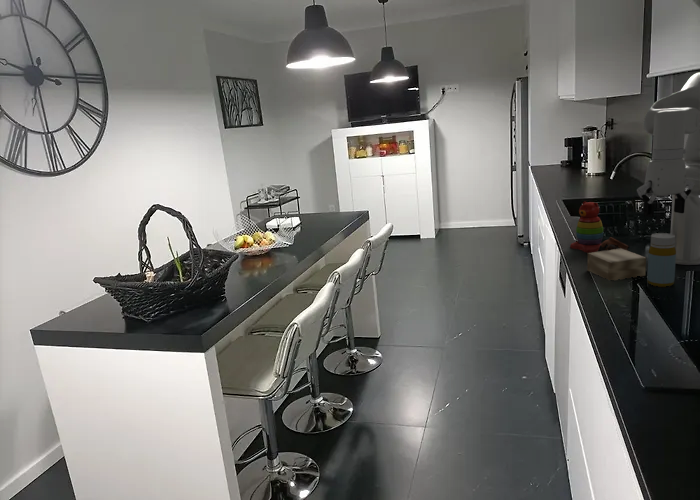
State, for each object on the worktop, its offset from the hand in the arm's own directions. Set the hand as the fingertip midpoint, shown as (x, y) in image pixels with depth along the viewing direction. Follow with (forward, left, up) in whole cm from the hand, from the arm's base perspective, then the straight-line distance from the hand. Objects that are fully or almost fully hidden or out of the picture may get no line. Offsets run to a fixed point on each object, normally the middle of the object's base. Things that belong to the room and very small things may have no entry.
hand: (663, 214), depth 152 cm
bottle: (0, 0, -22) cm, 22 cm away
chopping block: (+5, -14, -21) cm, 26 cm away
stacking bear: (-4, -43, -22) cm, 49 cm away
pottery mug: (-4, -29, -22) cm, 36 cm away
